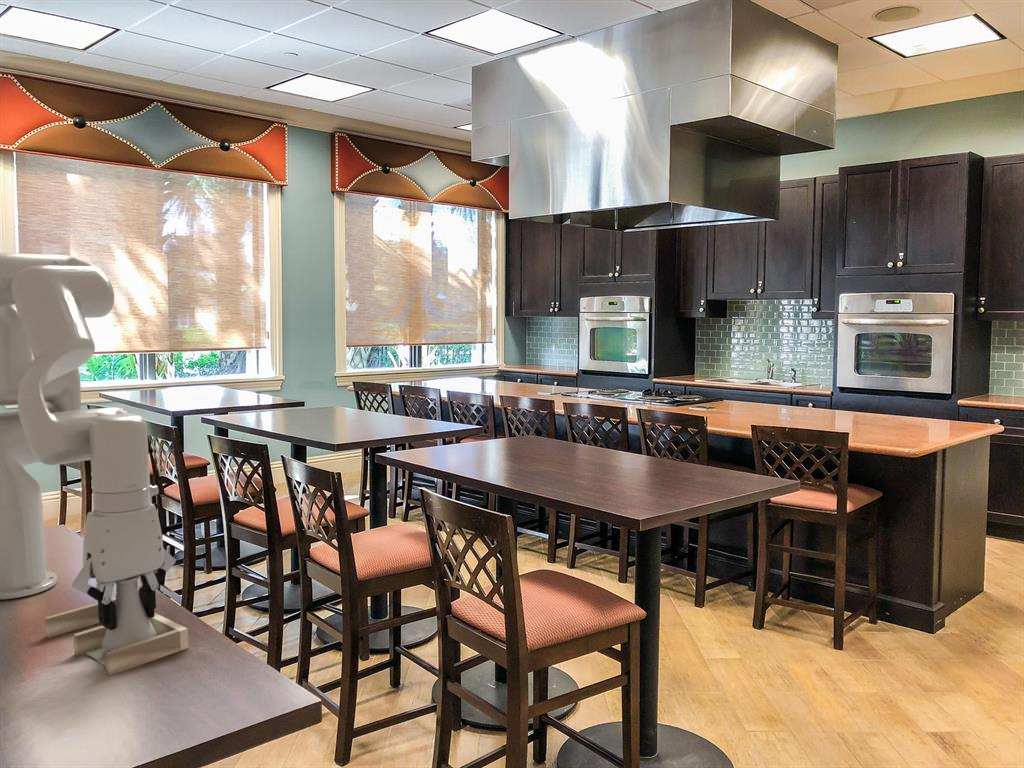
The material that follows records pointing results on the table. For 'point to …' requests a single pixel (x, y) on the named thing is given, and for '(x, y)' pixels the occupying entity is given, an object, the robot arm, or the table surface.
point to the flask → (128, 618)
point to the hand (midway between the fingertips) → (128, 620)
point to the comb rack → (123, 658)
